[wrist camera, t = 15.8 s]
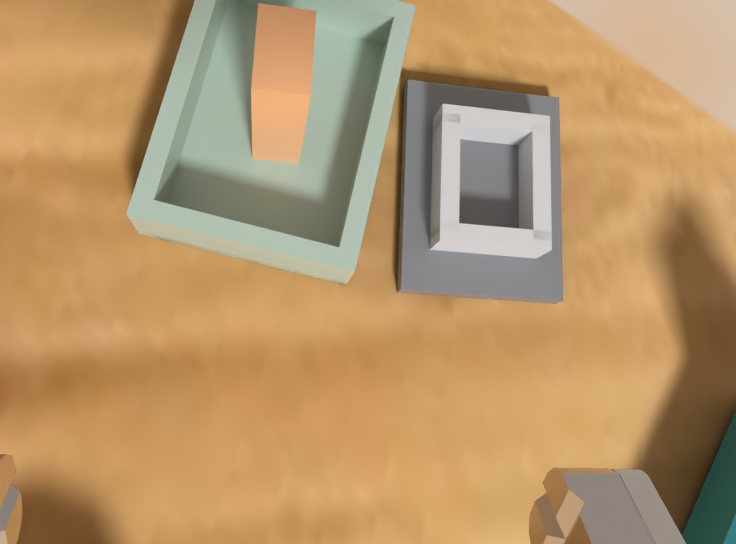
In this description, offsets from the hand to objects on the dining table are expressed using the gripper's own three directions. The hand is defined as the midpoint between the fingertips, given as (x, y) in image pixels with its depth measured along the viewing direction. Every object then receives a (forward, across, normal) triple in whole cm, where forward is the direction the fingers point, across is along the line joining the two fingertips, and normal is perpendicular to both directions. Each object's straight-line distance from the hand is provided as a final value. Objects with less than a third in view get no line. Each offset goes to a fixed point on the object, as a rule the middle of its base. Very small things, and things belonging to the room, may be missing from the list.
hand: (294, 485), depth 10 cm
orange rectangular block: (+28, 0, +5) cm, 28 cm away
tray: (+28, 0, +6) cm, 29 cm away
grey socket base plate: (+26, -11, +7) cm, 30 cm away
